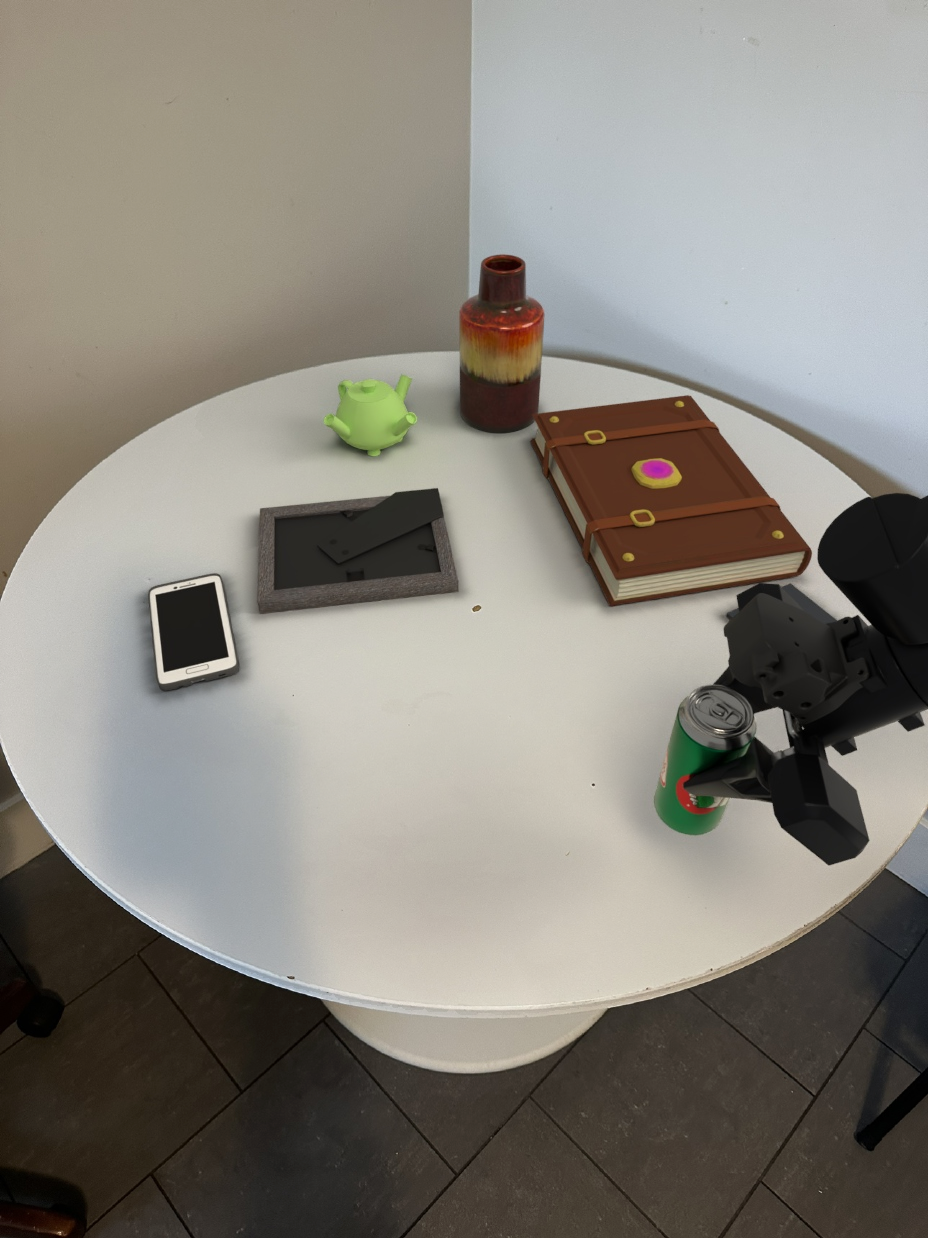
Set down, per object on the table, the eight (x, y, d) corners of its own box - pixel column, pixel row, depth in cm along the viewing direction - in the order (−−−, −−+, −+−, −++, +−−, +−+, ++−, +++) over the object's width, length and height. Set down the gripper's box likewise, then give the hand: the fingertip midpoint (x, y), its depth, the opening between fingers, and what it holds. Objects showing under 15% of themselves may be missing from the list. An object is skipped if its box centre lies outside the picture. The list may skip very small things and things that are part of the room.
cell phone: (159, 694, 78) (156, 688, 77) (149, 593, 87) (146, 586, 87) (241, 674, 79) (239, 667, 79) (222, 577, 89) (220, 570, 88)
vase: (554, 414, 112) (567, 264, 98) (494, 442, 107) (498, 289, 93) (502, 383, 118) (507, 238, 103) (444, 408, 113) (440, 260, 99)
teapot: (333, 418, 112) (326, 361, 106) (417, 415, 112) (414, 358, 106) (329, 465, 104) (320, 407, 98) (419, 462, 104) (416, 403, 98)
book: (607, 607, 86) (613, 572, 82) (528, 442, 107) (530, 409, 104) (806, 576, 89) (820, 540, 85) (690, 422, 111) (697, 388, 107)
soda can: (676, 769, 64) (706, 667, 55) (734, 807, 61) (775, 707, 53) (639, 811, 61) (664, 711, 53) (697, 852, 59) (734, 755, 50)
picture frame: (438, 501, 99) (262, 518, 96) (438, 487, 97) (259, 505, 95) (458, 591, 88) (259, 613, 85) (458, 577, 86) (256, 600, 84)
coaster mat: (789, 586, 88) (790, 582, 87) (855, 639, 82) (856, 635, 82) (726, 616, 85) (727, 612, 84) (790, 673, 79) (791, 669, 79)
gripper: (806, 482, 51) (608, 598, 60) (879, 722, 38) (611, 824, 47) (893, 583, 56) (697, 677, 64) (983, 826, 43) (723, 901, 51)
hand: (683, 756), depth 57 cm, fingers closed on soda can, 5 cm apart
